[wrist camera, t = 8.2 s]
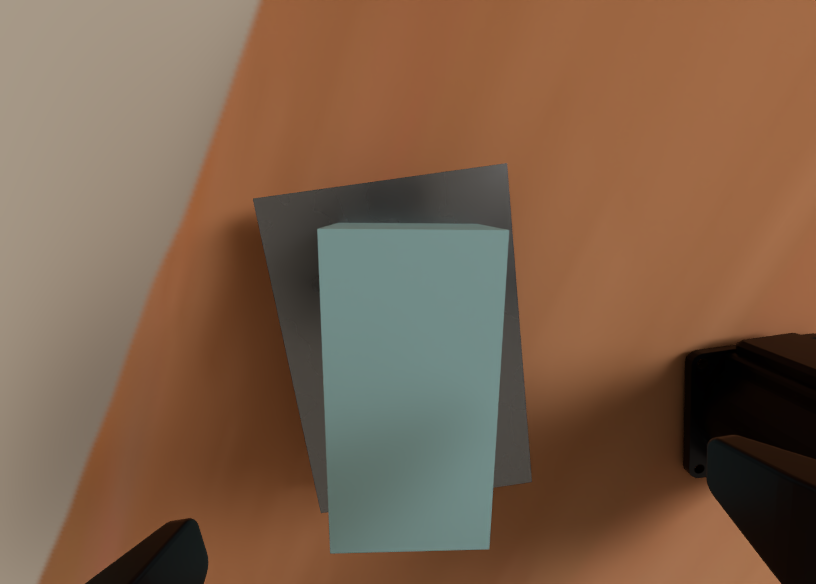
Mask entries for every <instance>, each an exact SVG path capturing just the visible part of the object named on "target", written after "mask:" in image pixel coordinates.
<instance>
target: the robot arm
mask: <svg viewBox="0 0 816 584" xmlns="http://www.w3.org/2000/svg"><path fill="white" fill-rule="evenodd" d="M700 359H701V362H700V363H699V364H698V365H697V362H698V361H699V360H700ZM697 465H698V466H697ZM683 466H684V469H685V470H686V471H687V472H688V473H689V474H690V475H691V476H693V477H695V478H702V477H706V478H707V483H708V486H709V489H710V491H711V493H712V494H713V496H714V497H715V498H716V500H717V501H718V502H719V504H720V505H721V506H722V508H723V509H724V510H725V511H726V513H727V514H728V515H729V517H730V518H731V519H732V521H733V522H734V523H735V524H736V526H737V527H738V528H739V530H740V531H741V532H742V534H743V535H744V536H745V537H746V539H747V540H748V541H749V543H750V544H751V545H752V547H753V548H754V549H755V550H756V552H757V553H758V554H759V556H760V557H761V558H762V560H763V561H764V562H765V563H766V565H767V566H768V567H769V569H770V570H771V571H772V573H773V574H774V575H775V576H776V578H777V579H778V580H779V581H780V582H781V584H816V334H806V335H800V334H796V333H788V334H781V335H774V336H767V337H760V338H753V339H746V340H742V341H740V342H738V343H736V345H730V346H723V347H716V348H709V349H702V350H696V351H693V352H691V353H690V354H688V356H687V357H686V361H685V402H684V457H683ZM696 466H697V467H696ZM207 570H208V555H207V552H206V548H205V545H204V542H203V539H202V535H201V532H200V529H199V526H198V523H197V522H196V521H195V520H194V519H191V518H188V519H181V520H175V521H170V522H168V523H166V524H165V525H163V526H162V527H161V528H159V529H158V530H157V531H155V532H154V533H152V534H151V535H150V536H148V537H147V538H146V539H144V540H143V541H142V542H140V543H139V544H138V545H136V546H135V547H134V548H132V549H131V550H130V551H128V552H127V553H126V554H124V555H123V556H122V557H120V558H119V559H118V560H116V561H115V562H114V563H112V564H111V565H109V566H108V567H107V568H105V569H104V570H103V571H101V572H100V573H99V574H97V575H96V576H95V577H93V578H92V579H91V580H89V581H88V582H87V583H85V584H204V581H205V578H206V574H207Z"/></svg>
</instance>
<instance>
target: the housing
mask: <svg viewBox="0 0 816 584" xmlns="http://www.w3.org/2000/svg"><path fill="white" fill-rule="evenodd" d="M317 235H318V260H319V285H320V310H321V335H322V360H323V385H324V410H325V435H326V460H327V485H328V510H329V535H330V553H368V552H406V551H444V550H482V549H489V546H490V530H491V514H492V498H493V482H494V466H495V450H496V434H497V418H498V402H499V386H500V370H501V354H502V338H503V322H504V306H505V290H506V274H507V258H508V242H509V230H506V229H501V228H496V227H491V226H486V225H481V224H444V223H336V224H332V225H329V226H325V227H322V228H319V229H317Z"/></svg>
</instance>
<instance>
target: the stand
mask: <svg viewBox="0 0 816 584" xmlns="http://www.w3.org/2000/svg"><path fill="white" fill-rule="evenodd" d="M253 202H254V206H255V211H256V216H257V220H258V225H259V229H260V234H261V239H262V243H263V248H264V253H265V257H266V262H267V266H268V271H269V276H270V280H271V285H272V289H273V294H274V299H275V303H276V308H277V312H278V317H279V322H280V326H281V331H282V336H283V340H284V345H285V349H286V354H287V359H288V363H289V368H290V372H291V377H292V382H293V386H294V391H295V395H296V400H297V405H298V409H299V414H300V419H301V423H302V428H303V432H304V437H305V442H306V446H307V451H308V455H309V460H310V465H311V469H312V474H313V478H314V483H315V488H316V492H317V497H318V502H319V506H320V511H321V513H324V512H329V510H328V485H327V460H326V435H325V410H324V385H323V360H322V335H321V310H320V285H319V260H318V235H317V229H319V228H322V227H325V226H329V225H332V224H336V223H444V224H481V225H486V226H491V227H496V228H501V229H506V230H509V242H508V258H507V274H506V290H505V306H504V322H503V338H502V354H501V370H500V386H499V402H498V418H497V434H496V450H495V466H494V482H493V488H494V487H501V486H508V485H515V484H522V483H528V482H532V477H531V464H530V451H529V439H528V426H527V413H526V400H525V387H524V375H523V362H522V349H521V336H520V323H519V311H518V298H517V285H516V272H515V259H514V247H513V234H512V221H511V208H510V195H509V183H508V170H507V163H505V164H498V165H491V166H484V167H477V168H470V169H462V170H455V171H448V172H441V173H434V174H427V175H419V176H412V177H405V178H398V179H391V180H383V181H376V182H369V183H362V184H355V185H348V186H340V187H333V188H326V189H319V190H312V191H305V192H297V193H290V194H283V195H276V196H269V197H262V198H254V199H253Z"/></svg>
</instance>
